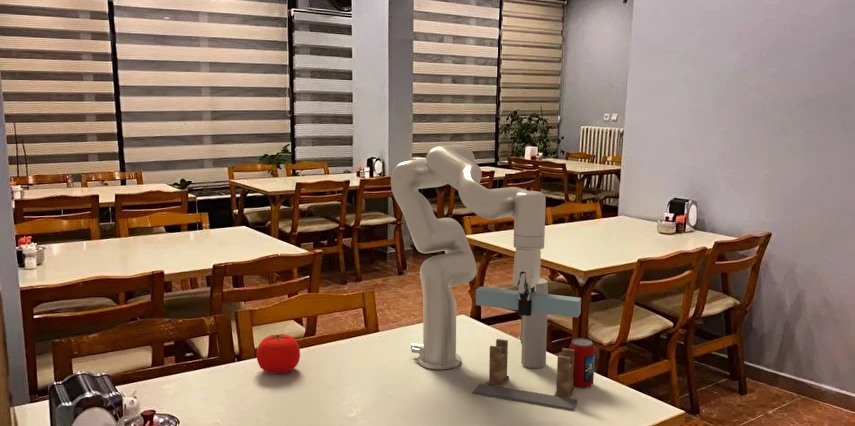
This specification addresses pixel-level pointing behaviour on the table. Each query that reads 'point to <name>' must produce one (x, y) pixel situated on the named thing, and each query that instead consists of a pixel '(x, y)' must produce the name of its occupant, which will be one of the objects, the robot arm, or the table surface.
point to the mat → (526, 396)
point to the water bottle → (534, 334)
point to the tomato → (278, 353)
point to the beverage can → (583, 362)
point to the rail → (539, 300)
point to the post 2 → (565, 374)
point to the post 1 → (498, 363)
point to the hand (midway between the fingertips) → (526, 312)
